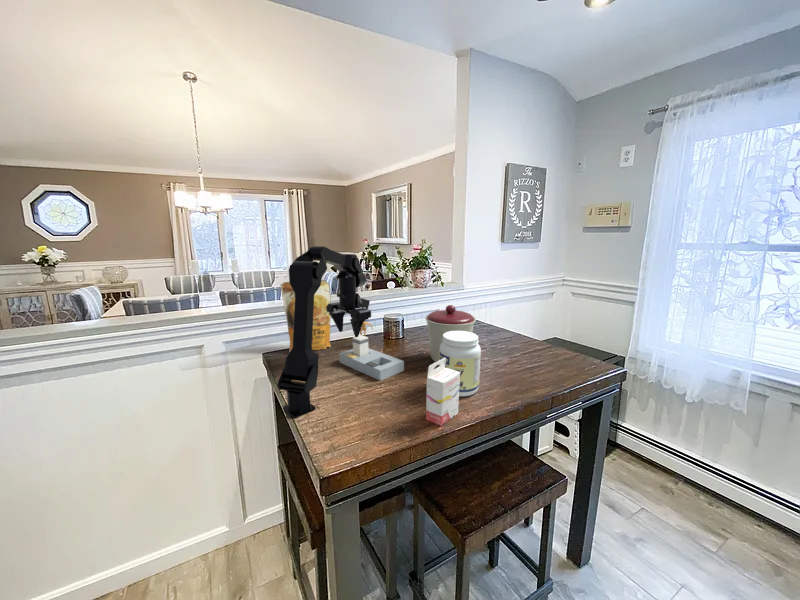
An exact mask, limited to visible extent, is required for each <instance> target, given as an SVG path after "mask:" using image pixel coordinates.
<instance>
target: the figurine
mask: <svg viewBox="0 0 800 600" xmlns="http://www.w3.org/2000/svg"><path fill="white" fill-rule="evenodd" d="M367 325H368V326H370V327H371V330H373V327H374V326H372V324H371V323H370V322H367V321H366V320H365V321H364V322H363V324H362V327H361V330H360V333H359V336H360V335H362V336H365V337H366V334H367V333H366V331H367V327H366V326H367ZM362 332H363V333H362Z"/></svg>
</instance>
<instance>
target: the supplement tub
mask: <svg viewBox="0 0 800 600" xmlns="http://www.w3.org/2000/svg"><path fill="white" fill-rule="evenodd" d="M442 341H443V342H442V343H441V345H440V348H439V360H441V359H443V358H446V363H445V368H448V369H451V370H455V371H458V372H460V385H459V397H470V396H472V395H474V394H476V393H477V392H478V390H479V388H480V374H481V357H482V356H481V355H482V349H481V346H480V344H479V335H477V334H476V333H474V332H472V333H471V332H467V331H449V332H446V333H444V334H443V339H442ZM439 366H440V364H439V365H438V367H439Z"/></svg>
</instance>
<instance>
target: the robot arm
mask: <svg viewBox="0 0 800 600" xmlns="http://www.w3.org/2000/svg"><path fill="white" fill-rule="evenodd" d="M327 264H328V265H331V266H333V269H335V270H337V271H338V272H339V273H338V274H337V275H336V279H337V280H338V293H336V297H338V298H339V299H338V301H336V302H331V303H330V304H328V305H327V306H326V309H327V312H330V313H329V314H330V316H331V320H333V322H334V324H335V326H336V328H337V330H338V331H339V333H343V330H344V329H343V328H344V318H345V315H346V313H347V314H349V315H350V319H349V321H350V324H351V328H352V331H353V334H354V337H358V336H360V330H361V329H362V324H363V322H364V321H365V322H366V321H367V320H369V319H370V318H372V310H370V309H369V306H370V302H371V300H369V299H366V298H362V297H361V295H360V294H359V292H358V293H357V289H358V288H360V287H363V286H364V285H365V284H366V282H367V277H366V275H365V273H364V271H363V269H362V265H361V262H360V259H359V258H358V255H356V254H355V253H341V252H338V251H335V250H333V249H330V248H328V247H326V246H321V245H320V246H317V245H316V246H314V245H313V246H311V247H309V248H308V249H307V251H306V252H303V253H302V254H301V255H299V256H298V257H296V258H295V259H294V261H293V262H292V263H291V264H290V265H289V267H288V277H289V279H288V280H289V281H288V282H289V283H290V285H291V287H292V289H293V291H294V293H295V308H294V329H293V347H292V350H291V351H290V352H288V354H287V356H286V357H285V361H284V367H283V369H282V370H281V373H280V374H281V375H280V376H279V378H278V381H277V383H276V385H277V388H278V390H279V391H286V397H287V401H286V402H287V405H284V406H283V407H282V410H283V411H284V412H285V413H287V414H288V415H290V416H291V417H292V418H294V419H296V418H298V417H300V416H303V415H305V414H307V413H310V412H312V411H314V410H316V409H317V407H316V405H314V404H312V403H311V393H310V392H312V391H313V390H314V389H315V388H316V387H317V382H318V374H319V367H320V366H319V353H318V352H315V351H313V349H312V331H313V310H314V295H315V293H316V292H317V290H318V289H319V287H320V286H321V280H323V279H322V278H323V277H324V275H325V273H326V272H327V270H328V265H327Z"/></svg>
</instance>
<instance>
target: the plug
mask: <svg viewBox="0 0 800 600" xmlns="http://www.w3.org/2000/svg"><path fill="white" fill-rule="evenodd" d="M351 342H352V349H353V354H354V355H356V356H358V357H362V356H365V355H367V354H369V348H370V347H369V343H370V342H369V337H368V336H366V335H365V336H364V335H363V334H362V335H360V334H359V336H358V337H355V336H353V337H352V341H351Z"/></svg>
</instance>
